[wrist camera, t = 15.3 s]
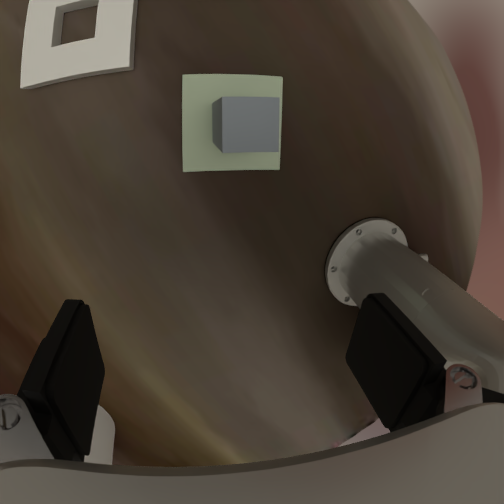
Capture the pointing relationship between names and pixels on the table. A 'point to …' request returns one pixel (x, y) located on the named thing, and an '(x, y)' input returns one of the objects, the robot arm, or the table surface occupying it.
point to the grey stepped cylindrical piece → (102, 439)
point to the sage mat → (200, 120)
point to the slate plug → (246, 124)
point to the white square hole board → (80, 52)
